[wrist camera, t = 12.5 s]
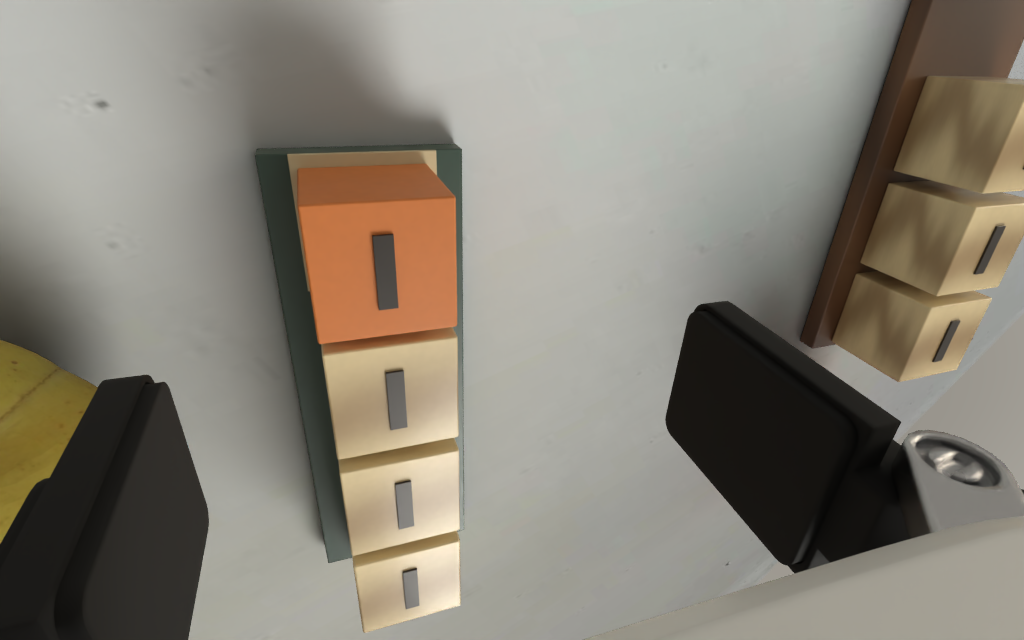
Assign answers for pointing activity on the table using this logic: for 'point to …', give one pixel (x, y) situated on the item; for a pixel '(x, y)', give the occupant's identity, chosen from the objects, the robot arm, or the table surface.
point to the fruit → (33, 422)
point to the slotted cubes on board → (930, 195)
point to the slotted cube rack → (377, 411)
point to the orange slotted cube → (378, 250)
